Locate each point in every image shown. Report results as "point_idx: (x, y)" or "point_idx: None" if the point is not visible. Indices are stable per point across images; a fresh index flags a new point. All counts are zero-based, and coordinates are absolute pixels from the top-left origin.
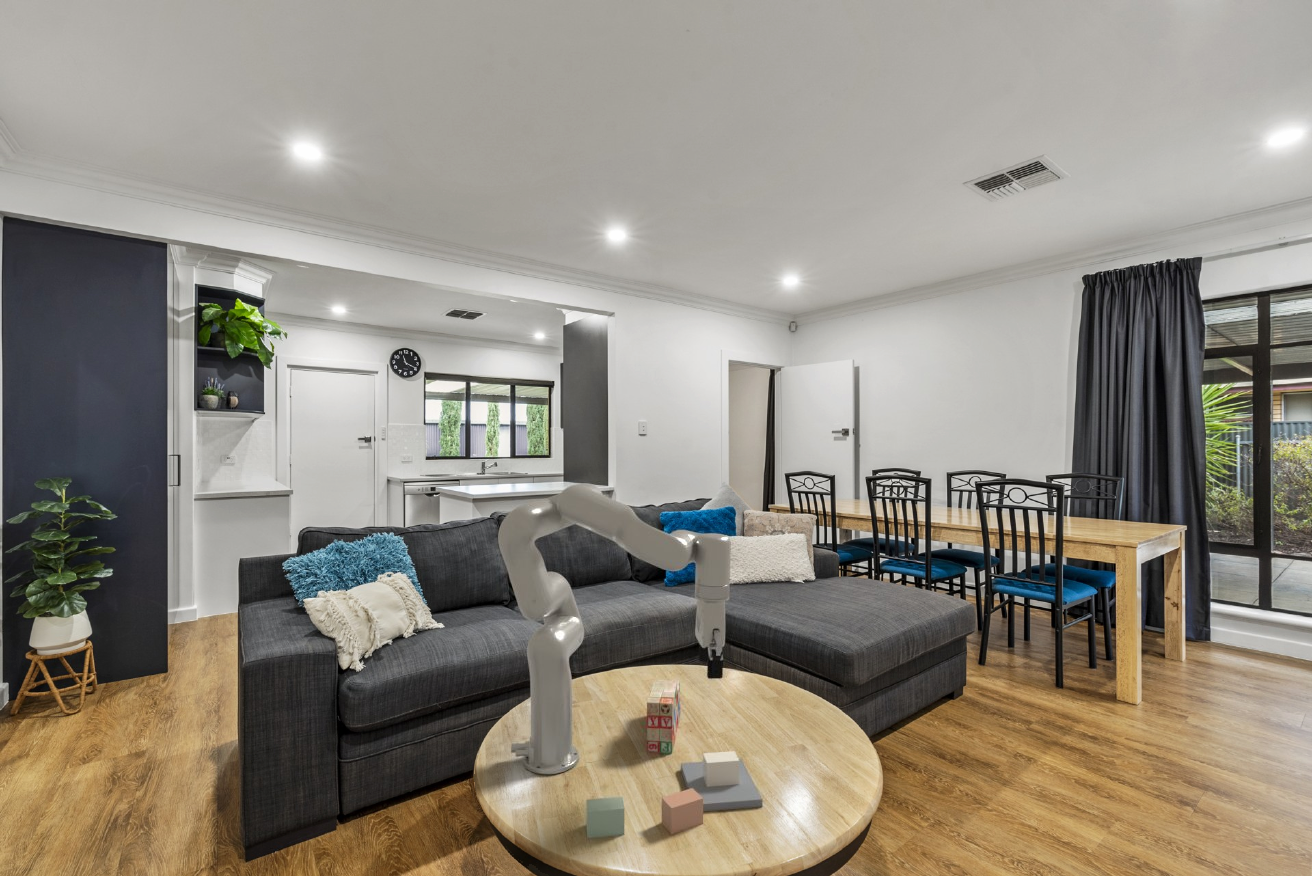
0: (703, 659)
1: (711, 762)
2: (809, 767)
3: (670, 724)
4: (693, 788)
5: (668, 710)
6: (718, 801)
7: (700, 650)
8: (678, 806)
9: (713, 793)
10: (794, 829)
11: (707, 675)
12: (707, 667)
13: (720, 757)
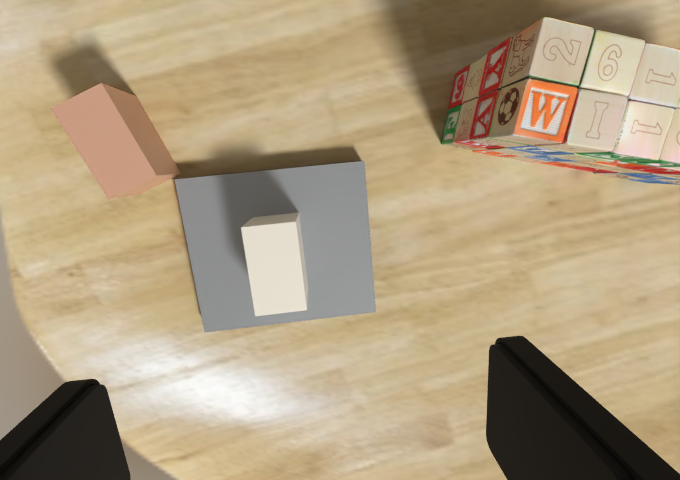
0: (497, 380)
1: (243, 240)
2: (356, 438)
3: (477, 133)
4: (244, 183)
5: (502, 120)
6: (190, 236)
7: (560, 419)
8: (65, 129)
9: (224, 229)
10: (135, 370)
11: (62, 390)
12: (6, 453)
13: (271, 268)
